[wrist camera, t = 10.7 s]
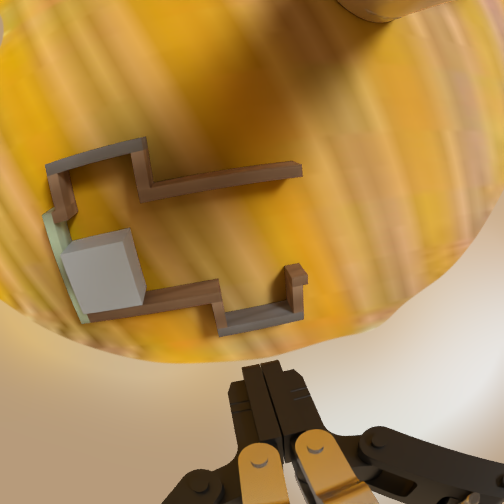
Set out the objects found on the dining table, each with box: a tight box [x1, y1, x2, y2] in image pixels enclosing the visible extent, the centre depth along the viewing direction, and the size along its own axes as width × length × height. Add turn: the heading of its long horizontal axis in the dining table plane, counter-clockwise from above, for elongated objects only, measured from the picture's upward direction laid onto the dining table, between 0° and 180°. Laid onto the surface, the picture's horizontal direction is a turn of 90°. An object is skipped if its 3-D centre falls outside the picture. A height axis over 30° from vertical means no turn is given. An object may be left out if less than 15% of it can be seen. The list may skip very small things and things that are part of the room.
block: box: [60, 228, 147, 314], centre depth 25 cm, size 6×6×4 cm
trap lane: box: [42, 137, 308, 337], centre depth 26 cm, size 19×22×2 cm
